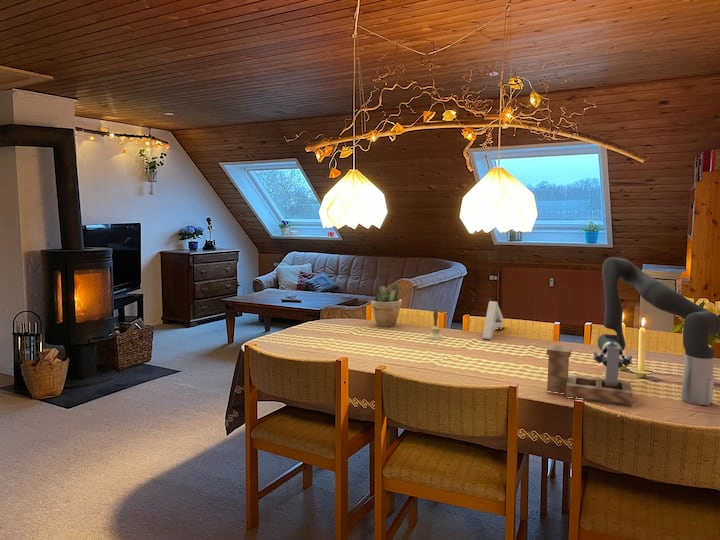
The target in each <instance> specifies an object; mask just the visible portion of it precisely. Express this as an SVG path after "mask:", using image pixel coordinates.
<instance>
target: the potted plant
mask: <svg viewBox="0 0 720 540" xmlns="http://www.w3.org/2000/svg"><path fill="white" fill-rule="evenodd" d="M400 289H401V285H400V284H399V283H394V284H393V285H392V287H391V289H390V290H389V289H388V288H387V287H386V286H384V285H380V286H379V287H378V293H377V294H376V295H375V297H373V298H371V299H370V305H371V308H372V313H373V317H374V321H375V323H376V324H375V325H376V326H377V327H380V328H392V327H395V326H396V324H397V321H398V317H399V314H400V309H401V307H402V302H403V301H402V299H400V298H398V295H399V291H400Z"/></svg>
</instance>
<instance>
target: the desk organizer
mask: <svg viewBox="0 0 720 540" xmlns="http://www.w3.org/2000/svg"><path fill="white" fill-rule="evenodd" d="M572 348H573V347H572V346H566V345H556V344H548V346H547V349H546V356H548V359H547V363H548V364H547V383H546V385H547V386H546V388H547V389H546V392H547V391H551V392H558V393H564V394H566V395H565V397H566V396H567V397H573V398H576V397H577V398H583V399H584V400H586V401H585V402H591V401H592V402H591V403H601V404H606V405H607V404H609V405H616V406H621V405H622V406H623V407H629V406H630V408H632V406H633V405H632V403H633V391H632V390H633V389H632V384H631V381H623V380H618V384H617V389H613V388H605V379H606V378H599V377H590V376H589V377H588V376H582V375H581V376H580V375H572V374H569V367H570V365H569V364H570V358H571V356H572Z"/></svg>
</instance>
